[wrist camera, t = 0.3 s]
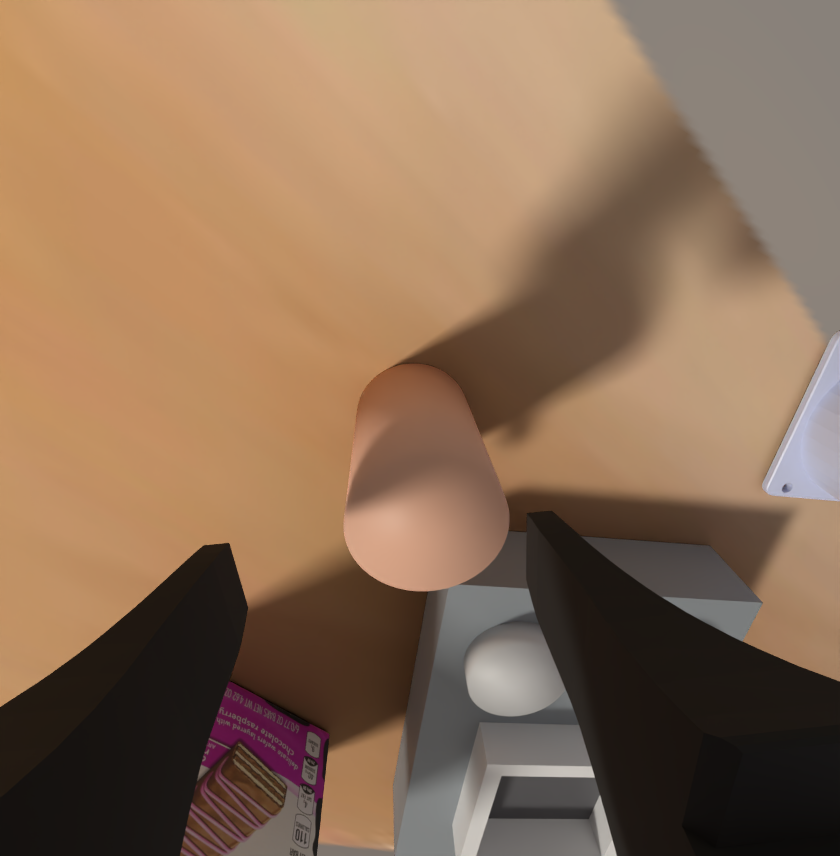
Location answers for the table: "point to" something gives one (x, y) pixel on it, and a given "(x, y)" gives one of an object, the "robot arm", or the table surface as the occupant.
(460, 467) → the peach tapered capsule
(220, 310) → the table surface
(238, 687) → the candy bar box
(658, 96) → the table surface
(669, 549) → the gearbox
